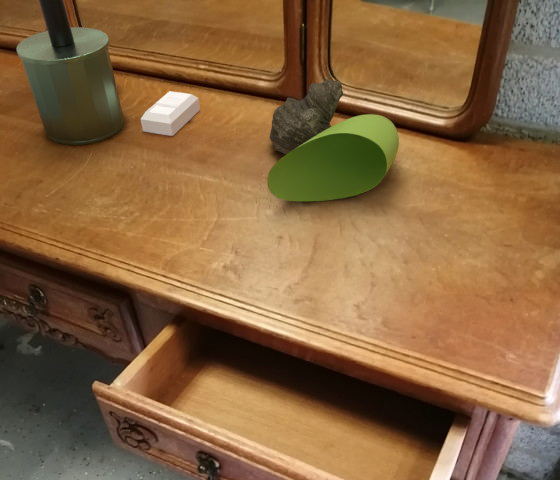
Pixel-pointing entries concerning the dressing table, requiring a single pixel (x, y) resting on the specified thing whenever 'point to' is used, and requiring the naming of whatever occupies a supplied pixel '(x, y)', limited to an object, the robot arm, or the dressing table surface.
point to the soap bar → (170, 113)
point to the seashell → (305, 116)
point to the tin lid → (61, 39)
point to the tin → (77, 99)
